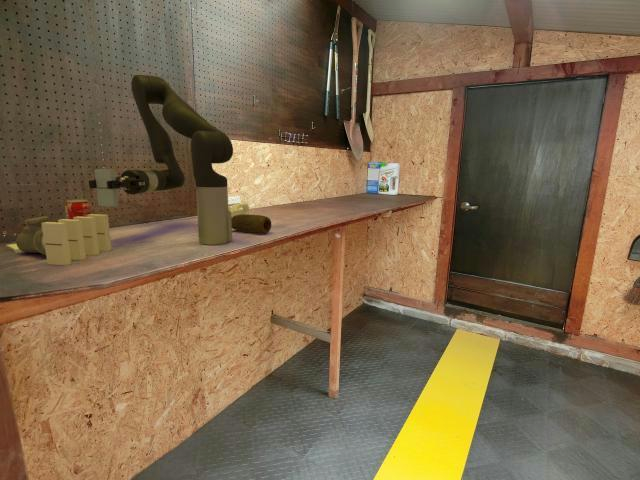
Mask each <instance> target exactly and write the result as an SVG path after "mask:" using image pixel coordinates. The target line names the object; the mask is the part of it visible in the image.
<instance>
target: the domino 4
mask: <svg viewBox="0 0 640 480" xmlns="http://www.w3.org/2000/svg"><path fill="white" fill-rule="evenodd" d="M94 176H95V178H94V179H96V185H97V188H96V195H97V204H98V207H100V206H101V207H119V199H118V198H119V196H118V189H108V188H107V181H113V180H116V176H117V175H116V170H115V169H101V168H99V169H94Z"/></svg>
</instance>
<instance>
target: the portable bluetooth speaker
mask: <svg viewBox="0 0 640 480" xmlns="http://www.w3.org/2000/svg"><path fill="white" fill-rule="evenodd" d="M231 221H232V230H234V231H237V232H243V233H249V234H256V235H257V234H258V235H259V234H260V235H266V234H268V233H269V232H270V231H271V229H272V221H271V219H270V218H269V217H268V216H266V215H259V214H241V215H236V216H233V217H232V218H231Z"/></svg>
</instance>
